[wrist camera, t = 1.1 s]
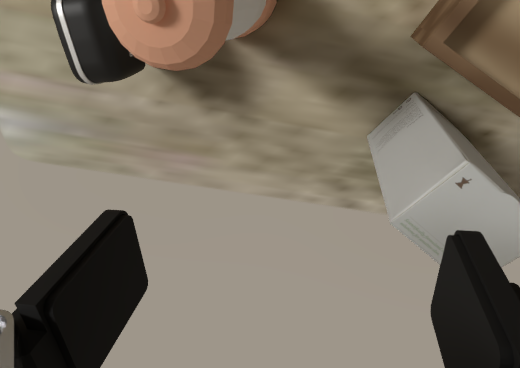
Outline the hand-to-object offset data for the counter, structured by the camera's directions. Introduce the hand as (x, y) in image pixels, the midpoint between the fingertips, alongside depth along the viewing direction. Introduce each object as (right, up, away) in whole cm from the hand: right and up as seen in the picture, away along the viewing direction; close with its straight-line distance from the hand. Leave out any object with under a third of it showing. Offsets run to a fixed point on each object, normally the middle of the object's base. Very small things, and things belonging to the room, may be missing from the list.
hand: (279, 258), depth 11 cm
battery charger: (-11, +18, +25) cm, 33 cm away
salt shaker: (-2, +20, +23) cm, 30 cm away
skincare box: (+15, +7, +26) cm, 31 cm away
